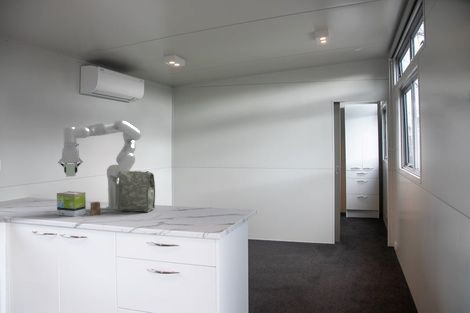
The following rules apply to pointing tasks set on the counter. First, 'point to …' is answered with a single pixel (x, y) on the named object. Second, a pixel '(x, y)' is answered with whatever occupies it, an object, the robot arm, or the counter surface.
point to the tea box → (71, 203)
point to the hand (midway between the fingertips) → (70, 173)
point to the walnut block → (95, 208)
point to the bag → (136, 191)
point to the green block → (70, 170)
